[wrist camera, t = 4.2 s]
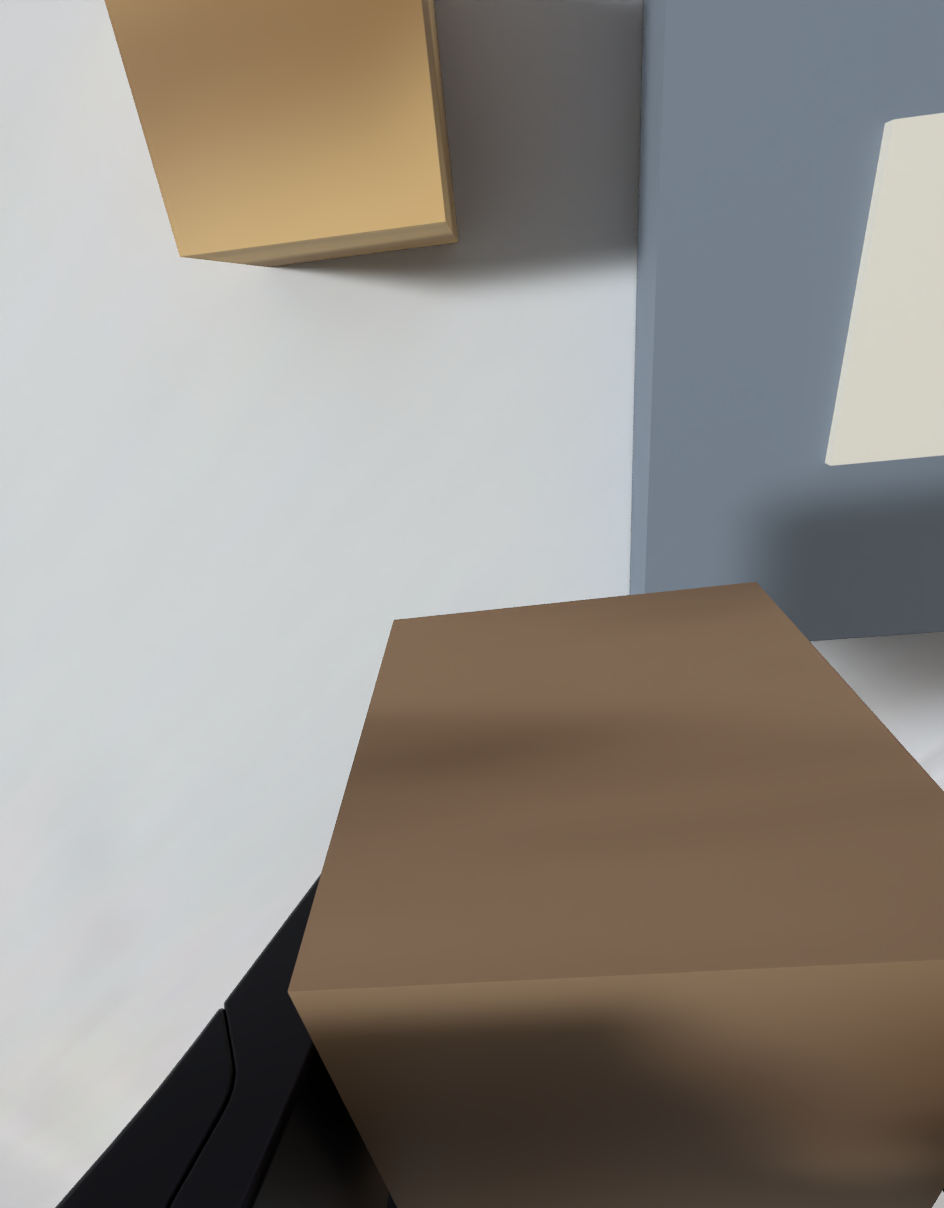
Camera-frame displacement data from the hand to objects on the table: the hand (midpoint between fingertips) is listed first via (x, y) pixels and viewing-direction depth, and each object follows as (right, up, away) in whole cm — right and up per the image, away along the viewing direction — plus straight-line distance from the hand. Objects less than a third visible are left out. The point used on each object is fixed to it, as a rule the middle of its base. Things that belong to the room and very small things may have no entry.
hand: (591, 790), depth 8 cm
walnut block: (0, +1, +1) cm, 1 cm away
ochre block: (-5, +14, +6) cm, 16 cm away
